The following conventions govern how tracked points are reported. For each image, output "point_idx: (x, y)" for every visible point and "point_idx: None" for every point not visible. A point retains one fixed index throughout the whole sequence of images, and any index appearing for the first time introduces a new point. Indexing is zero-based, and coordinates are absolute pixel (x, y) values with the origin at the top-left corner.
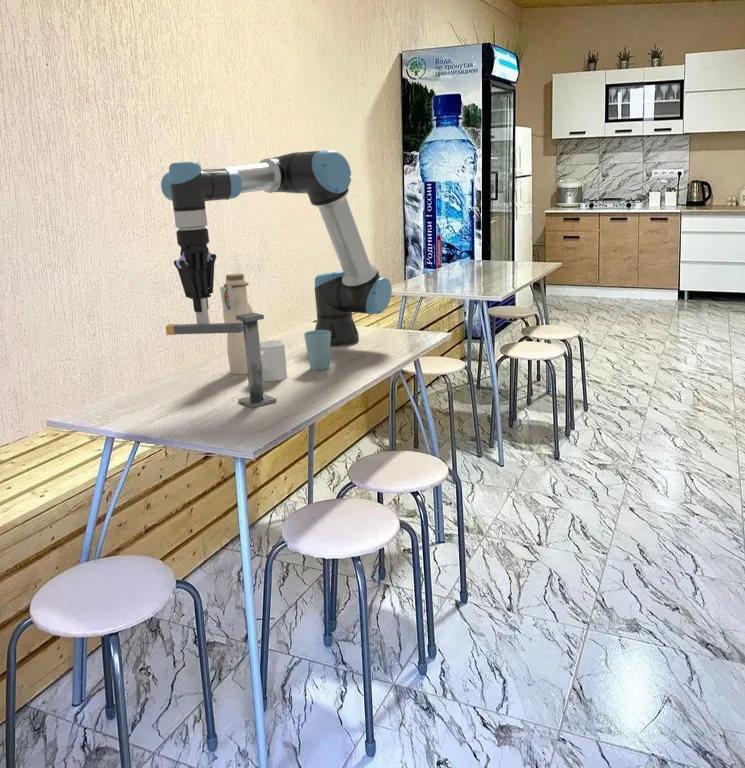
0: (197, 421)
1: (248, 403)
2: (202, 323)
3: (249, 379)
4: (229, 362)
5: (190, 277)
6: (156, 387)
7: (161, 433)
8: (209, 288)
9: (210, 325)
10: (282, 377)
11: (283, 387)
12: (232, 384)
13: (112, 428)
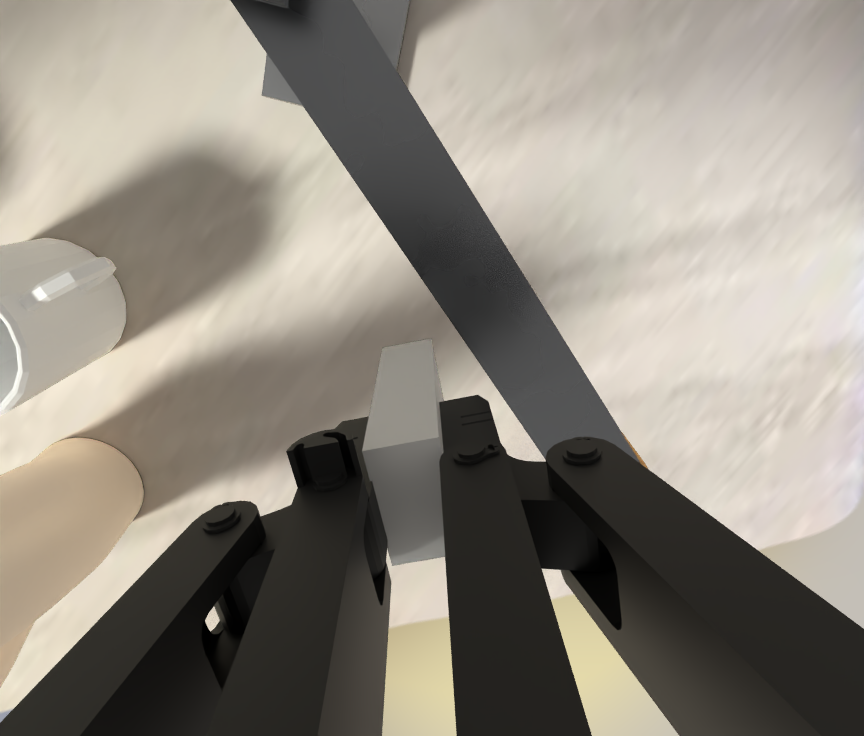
0: (664, 51)
1: (405, 18)
2: (437, 369)
3: None
4: (125, 527)
5: (798, 675)
6: (433, 570)
7: (843, 50)
8: (237, 552)
9: (480, 207)
10: (40, 239)
11: (117, 131)
12: (236, 369)
13: (858, 283)
